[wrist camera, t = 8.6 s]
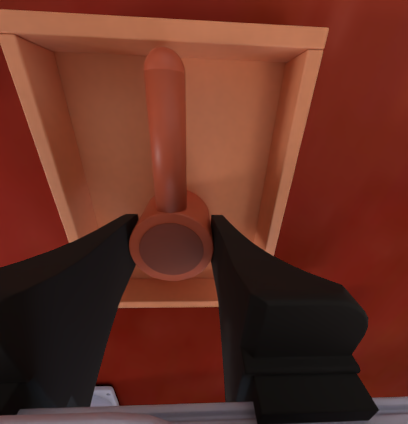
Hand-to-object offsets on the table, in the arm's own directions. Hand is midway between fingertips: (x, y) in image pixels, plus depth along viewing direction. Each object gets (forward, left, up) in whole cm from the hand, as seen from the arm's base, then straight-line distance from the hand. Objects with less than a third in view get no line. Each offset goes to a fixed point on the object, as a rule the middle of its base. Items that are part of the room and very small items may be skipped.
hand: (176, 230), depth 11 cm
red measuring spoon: (+3, 0, -1) cm, 3 cm away
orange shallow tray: (+1, 0, -2) cm, 2 cm away
